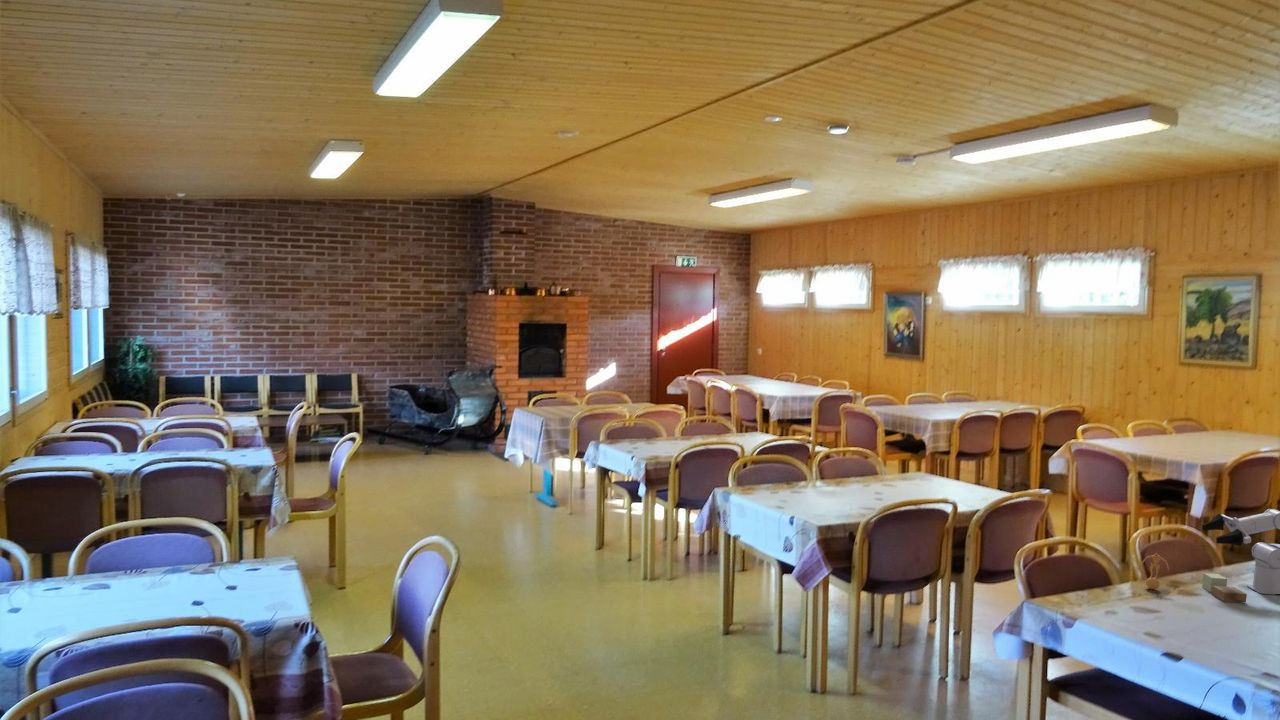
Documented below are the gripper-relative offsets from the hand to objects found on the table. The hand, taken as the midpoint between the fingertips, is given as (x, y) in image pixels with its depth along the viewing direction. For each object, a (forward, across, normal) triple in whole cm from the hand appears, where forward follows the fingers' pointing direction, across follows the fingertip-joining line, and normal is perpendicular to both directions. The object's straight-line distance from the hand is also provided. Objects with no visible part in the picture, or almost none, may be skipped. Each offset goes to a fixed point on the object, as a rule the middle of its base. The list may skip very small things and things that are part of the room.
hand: (1209, 534), depth 310 cm
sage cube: (+3, +8, +17) cm, 19 cm away
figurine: (+24, +8, +10) cm, 28 cm away
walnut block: (+4, +16, +14) cm, 22 cm away
